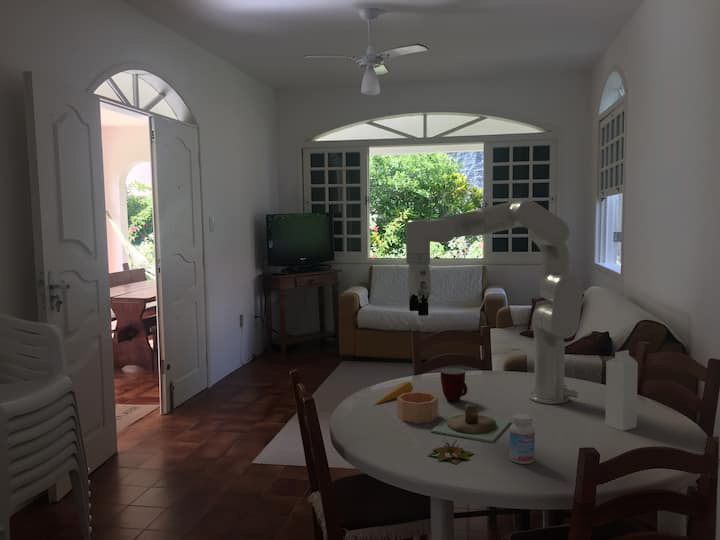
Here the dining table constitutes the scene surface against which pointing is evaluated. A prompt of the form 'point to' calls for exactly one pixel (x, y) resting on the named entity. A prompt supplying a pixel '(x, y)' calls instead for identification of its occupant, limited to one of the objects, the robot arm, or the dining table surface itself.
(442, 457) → the lily flower
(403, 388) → the carrot
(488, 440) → the mat
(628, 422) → the milk
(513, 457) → the pill bottle
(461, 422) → the lid
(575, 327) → the robot arm
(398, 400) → the bowl
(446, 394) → the mug
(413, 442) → the dining table surface
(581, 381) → the dining table surface
